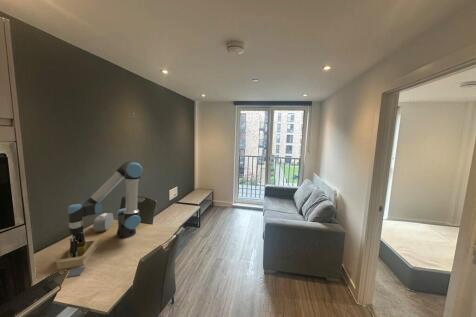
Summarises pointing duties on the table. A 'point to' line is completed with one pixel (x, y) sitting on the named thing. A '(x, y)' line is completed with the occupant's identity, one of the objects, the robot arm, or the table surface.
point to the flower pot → (80, 249)
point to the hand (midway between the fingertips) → (78, 256)
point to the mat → (75, 271)
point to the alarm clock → (103, 222)
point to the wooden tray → (67, 262)
